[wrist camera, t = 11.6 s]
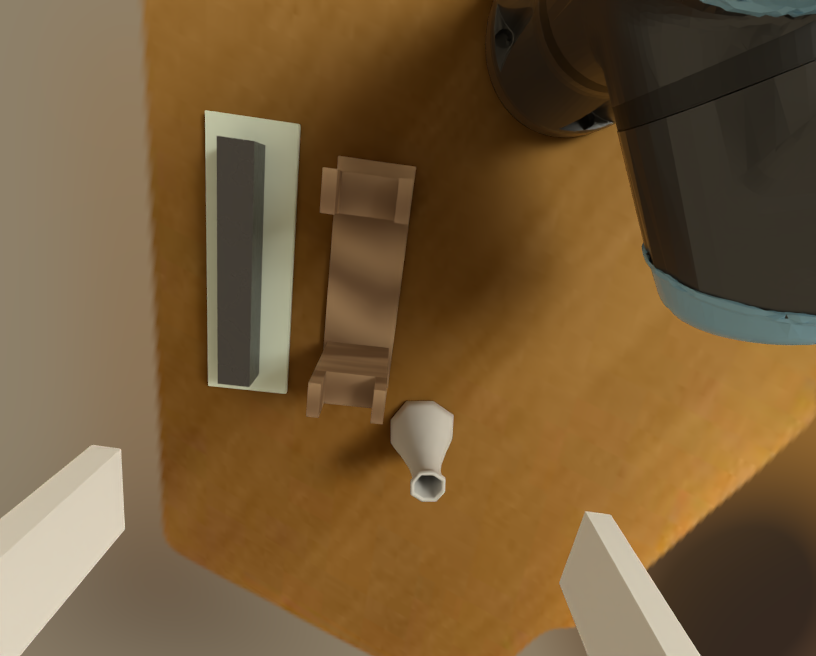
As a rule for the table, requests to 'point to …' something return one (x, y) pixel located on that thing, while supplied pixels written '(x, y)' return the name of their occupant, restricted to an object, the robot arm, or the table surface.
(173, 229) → the table surface
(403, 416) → the flask
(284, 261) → the mat
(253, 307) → the rail
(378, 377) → the rack
